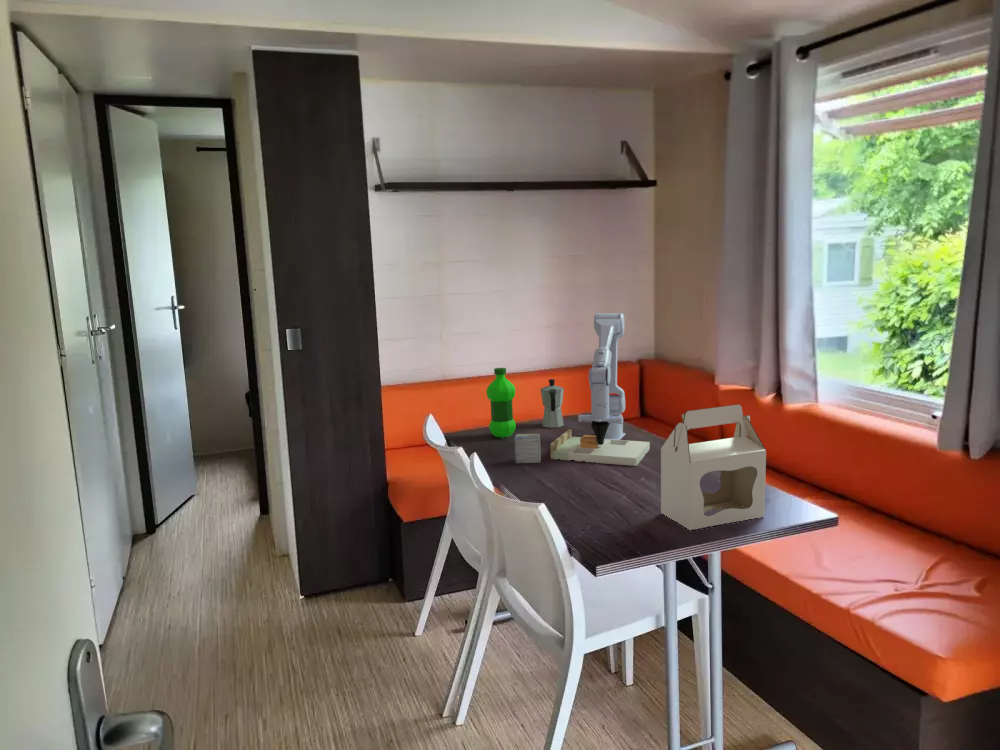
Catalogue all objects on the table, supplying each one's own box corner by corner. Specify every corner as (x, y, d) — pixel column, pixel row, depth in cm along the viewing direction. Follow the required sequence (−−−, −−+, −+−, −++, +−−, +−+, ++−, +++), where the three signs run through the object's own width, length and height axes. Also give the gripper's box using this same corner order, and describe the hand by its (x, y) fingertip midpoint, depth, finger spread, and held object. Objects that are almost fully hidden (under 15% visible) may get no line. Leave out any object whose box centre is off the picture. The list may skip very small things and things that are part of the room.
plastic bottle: (487, 440, 269) (484, 371, 264) (491, 432, 279) (488, 366, 275) (515, 440, 268) (512, 371, 263) (518, 432, 278) (515, 365, 273)
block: (584, 443, 251) (584, 434, 250) (599, 444, 249) (598, 435, 248) (580, 447, 247) (580, 438, 246) (595, 448, 245) (595, 439, 244)
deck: (569, 443, 261) (568, 429, 260) (649, 449, 250) (649, 434, 249) (550, 458, 244) (550, 443, 243) (636, 466, 233) (636, 450, 232)
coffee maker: (541, 422, 292) (539, 376, 289) (563, 421, 292) (562, 375, 288) (542, 432, 277) (540, 384, 274) (566, 431, 277) (564, 383, 274)
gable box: (733, 500, 200) (734, 397, 195) (765, 517, 188) (768, 408, 183) (659, 514, 193) (659, 407, 188) (688, 532, 181) (689, 418, 175)
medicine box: (541, 459, 244) (540, 433, 242) (540, 463, 240) (539, 437, 238) (516, 459, 245) (515, 433, 243) (515, 463, 240) (514, 437, 239)
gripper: (574, 404, 243) (575, 445, 245) (619, 407, 237) (619, 448, 240) (581, 400, 249) (582, 440, 252) (624, 402, 244) (625, 443, 246)
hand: (600, 444), depth 246 cm, fingers closed
